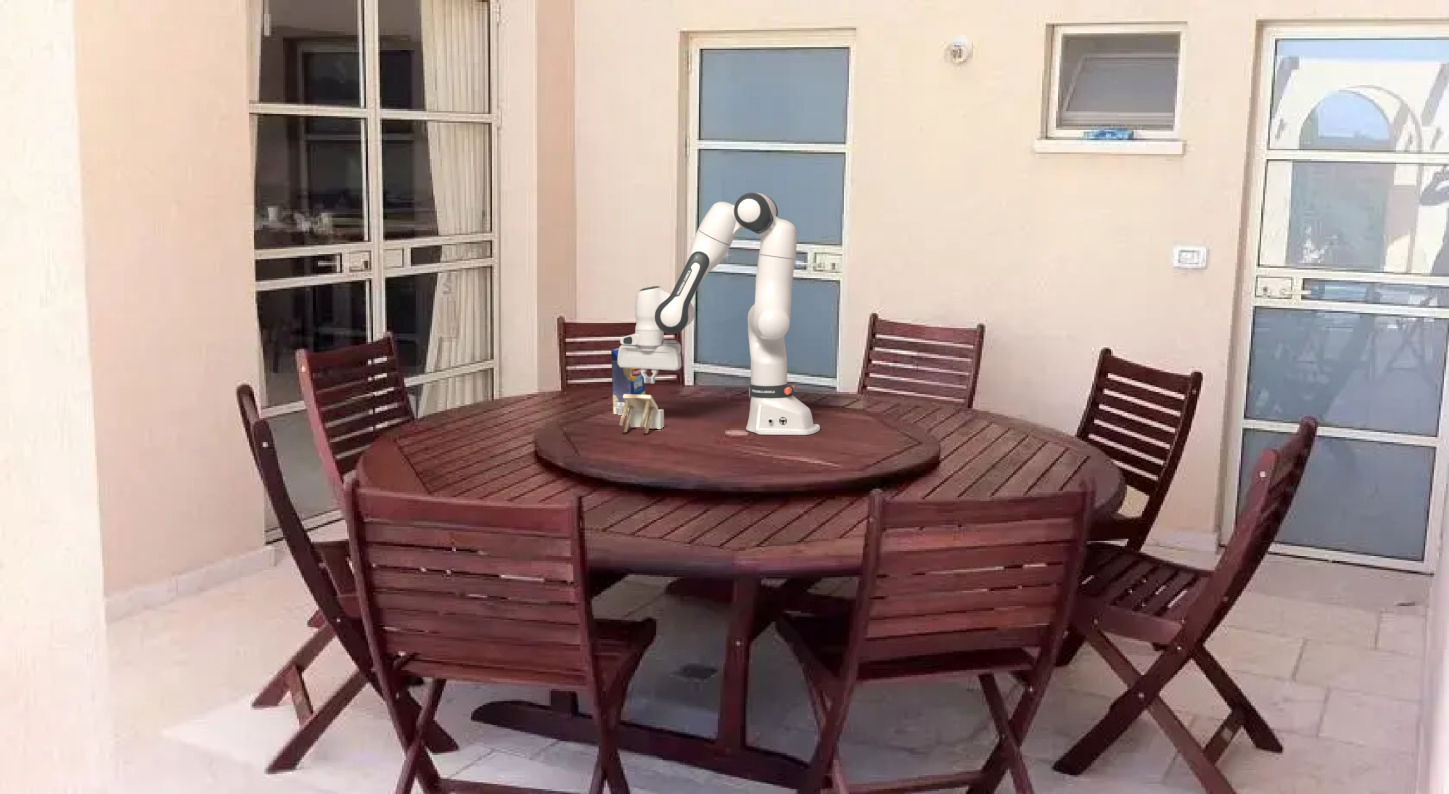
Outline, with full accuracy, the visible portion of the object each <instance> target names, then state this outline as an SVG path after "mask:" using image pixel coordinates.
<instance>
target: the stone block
mask: <svg viewBox="0 0 1449 794" xmlns="http://www.w3.org/2000/svg"><path fill="white" fill-rule="evenodd" d="M649 411H650V410H648V413H647V417H646V421H645V424H644V427H646V423H647V419H648V415H649ZM664 411H665V410H664V408H661V409H659V408H658V409H657V410H654V411H653V415H652V419H651V423H650V427H649V428H657V429H661V428H663V427H664V428H665V412H664ZM643 412H644V410H637V409H633V412H632V415H631V419H630V423H629V427H640V424H641V420H642V416H643Z"/></svg>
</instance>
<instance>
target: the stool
mask: <svg viewBox="0 0 1449 794" xmlns="http://www.w3.org/2000/svg"><path fill="white" fill-rule="evenodd" d="M623 399H624V400H625V404H624V408H623V412H622V416H621V418H620V420H619V424H618V426H619V427H624V428H623V430H622V431H623V433H624V432H627V433H628V431H629V427H630V419H631V415H632V412H633V409H637V410H644V412H643V416H642V420H641V424H640V427H644V424H645V421H646V417H647V413H648V410H650V411H649V415H648V419H647V423H646V427H645V430H644V432H643V434H645V433H648V434H649V431H650V430H649V427H650V423H651V419H652V415H653V411H654V410H657V409H659V407H658V406H659V405H658V404H657V402H656V400H655V399H654V397H653V395H651V394H645V395H635V394H624V395H623ZM628 407H629V411H628V415H627V418H625V416H626V412H627V408H628ZM624 423H625V424H624Z"/></svg>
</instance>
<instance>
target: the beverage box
mask: <svg viewBox="0 0 1449 794" xmlns="http://www.w3.org/2000/svg"><path fill="white" fill-rule="evenodd" d="M618 350H619V347H617V348H614V349H611V350H610V352H611V354H610V355H611V356H610V357H611V359H610V360H611V386H612V390H611V391H612V395H611V396H612V415H613V414H618V415H622V412H623V408H624V404H625V400H624V399H623V395H624V394H635V395H646V383H644V377H643V376H642V374H641V369H639V368H621V367H619V365H618ZM628 411H629V407H628V408H627V412H626V415H628Z"/></svg>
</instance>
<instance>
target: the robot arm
mask: <svg viewBox="0 0 1449 794" xmlns="http://www.w3.org/2000/svg"><path fill="white" fill-rule="evenodd" d="M778 210H779V209H778V206H777V204H776V202H775V200H773V199H772V198H771V197H770V196H767V195H765V194H763V193H761V192H760V193H759V192H748V193H745V194H742V195H741V196H740V197H739V198H738V199H737V200H736V201H735V203H734V204H732V203H730V202H727V201H717V202H715V203H714V204H713V205H711V207H710V208H709V209H708V211H707V212H706V214H705V216H704V217H703V219H702V221H701V223H700V224H699V226H698V229H697V230H696V233H695V234H694V237H693V241H692V243H691V246H690V249H689V253H688V254H687V255H688V257H687V258H686V262H685V265H684V267H683V270H682V271H681V274H680V275H679V278H678V280H677V282H676V284H675V286H674V288H673V289H672V292H668V291H667V290H665V289H664V288H663V287H662V286H659V285H653V286H648V287H647V286H646V287H644V288H641V289H639V291H637V294H636V297H635V306H634V312H635V313H634V317H635V318H636V319H635V321H636V325H635V329H634V330H635V331H634V333H630V334H629V335H626V336H622V337H621V338H620V339H619V343H620V344H621V345H620V346H619V347H618V348H619V350H618V365H619V367H621V368H639V369H641V374H642V376H643V377H644V383H645V384H650V385H651V384H652V385H653V384H655V383H656V377H657V375H658V373H659V370H663V371H679V370H680V369H681V368H682V356H681V355H682V354H681V353H682V345H681V343H680V342H679V341H677V340H675V339H672V340H671V339H665V335H664V333H665V334H669V335H675V334H678V333H680V332H682V331H683V330H684V329H685V328H686V327H688V326H689V325H690V324H691V323H692V322H693V321H694V318H695V313H696V312H695V311H696V310H695V308H694V305H693V304H692V303H691V302H692V300H693V298H694V296H695V294H696V292H697V291H698V288H699V286H700V284H701V282H702V281H703V279H704V278H705V277H706V276H707V274H709V273H710V272H711V271H712V270H714V268H716V267H717V266H718V265H719V264H720V263H721V262H722V260H723V259H724V257H725V256H726V255H727V253H728V251H729V249H730V247H731V246H732V243H733V241H734V239H735V237H736V235H737V234H738V232H740V230H742V229H747V230H749V231H751V232H754V233H755V234H758V235H759V239H760V246H759V254H758V259H757V266H756V274H755V296H754V304H753V305H752V306H751V307H750V309H749V310H748V313H747V333H748V343H749V344H748V345H749V353H750V354H749V355H750V383H749V388H748V393H749V394H748V396H749V402H750V403H749V404H750V405H749V414H748V420H747V424H746V427H745V430H746V431H748V432H752V433H756V435H772V436H773V435H776V436H777V435H781V436H782V435H784V436H785V435H786V436H788V435H789V436H791V435H792V436H806V435H813V434H816V433H818V432H819V431H820V429H821V426H820V424H818V423H814V420H813V415H812V410H811V409H810V408H809V407H808V406H807V405H806V404H804V403H803V402H802V401H800V399H798V398H796V396H794V390H795V385H791V384H790V383H788V365H787V364H788V356H787V349H786V342H785V341H786V340H785V339H786V338H785V335H786V334H787V333H788V331H789V329H790V325H791V311H792V310H791V309H792V296H793V295H792V291H793V290H792V287H793V279H794V270H795V264H796V256H797V246H798V245H797V242H798V240H797V239H798V238H797V228H796V226H795V225H794V224H793V223H792V222H790V221H789V220H787V219H783V218H780V217H779V216H778V215H779V211H778ZM648 370H651V373H652V375H651V376H648V374H647V372H648Z"/></svg>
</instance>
